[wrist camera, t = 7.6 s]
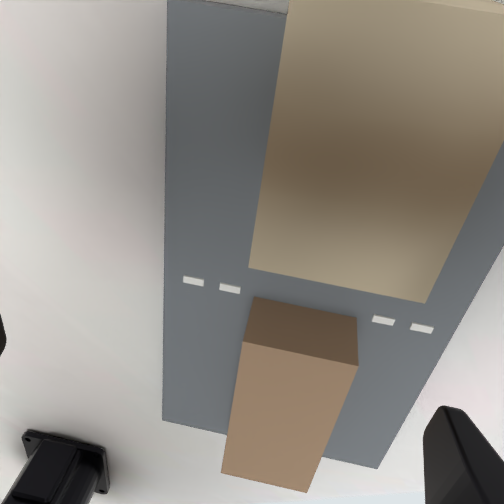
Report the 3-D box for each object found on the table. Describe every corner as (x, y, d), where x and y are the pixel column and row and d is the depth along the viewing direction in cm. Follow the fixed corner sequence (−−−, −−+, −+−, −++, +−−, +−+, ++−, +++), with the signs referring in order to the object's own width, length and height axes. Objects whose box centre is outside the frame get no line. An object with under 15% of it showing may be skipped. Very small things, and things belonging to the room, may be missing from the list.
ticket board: (376, 454, 28) (380, 519, 25) (167, 407, 29) (145, 464, 26) (587, 64, 14) (658, 98, 11) (176, -5, 15) (132, 8, 12)
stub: (400, 201, 17) (425, 303, 12) (274, 177, 17) (248, 267, 12) (477, -5, 13) (560, 23, 8) (310, -32, 13) (292, -21, 8)
